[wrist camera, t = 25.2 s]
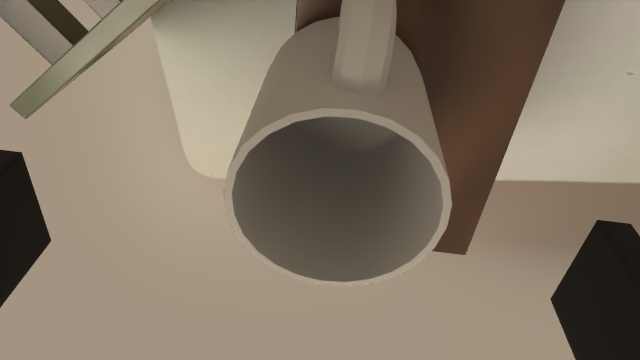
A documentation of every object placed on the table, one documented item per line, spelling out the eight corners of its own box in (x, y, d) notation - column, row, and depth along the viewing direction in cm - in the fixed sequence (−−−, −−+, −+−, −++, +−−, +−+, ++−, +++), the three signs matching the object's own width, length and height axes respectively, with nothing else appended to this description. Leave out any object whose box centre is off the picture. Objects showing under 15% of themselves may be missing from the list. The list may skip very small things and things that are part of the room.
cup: (262, 142, 24) (221, 269, 17) (282, -74, 18) (230, -20, 11) (400, 165, 24) (416, 300, 17) (462, -42, 19) (527, 32, 11)
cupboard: (305, 114, 40) (281, 233, 28) (328, -140, 29) (305, -128, 17) (434, 130, 40) (465, 255, 28) (502, -119, 29) (602, -92, 17)
